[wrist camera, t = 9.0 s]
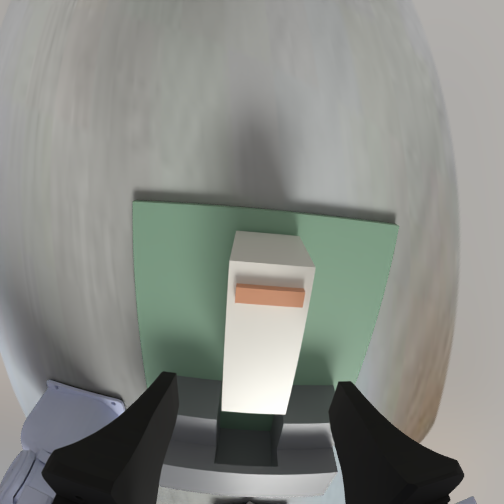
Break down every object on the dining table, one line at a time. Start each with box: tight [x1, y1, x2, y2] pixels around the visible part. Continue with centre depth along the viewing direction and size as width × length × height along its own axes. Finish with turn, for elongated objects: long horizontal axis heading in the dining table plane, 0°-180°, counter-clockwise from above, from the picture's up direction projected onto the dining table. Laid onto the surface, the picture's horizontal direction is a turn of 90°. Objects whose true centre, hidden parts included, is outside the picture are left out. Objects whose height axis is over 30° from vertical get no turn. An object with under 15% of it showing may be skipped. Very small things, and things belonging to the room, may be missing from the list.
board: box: [133, 200, 399, 431], centre depth 23 cm, size 18×22×1 cm
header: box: [159, 375, 338, 497], centre depth 22 cm, size 14×8×8 cm, turn 85°
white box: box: [222, 231, 316, 414], centre depth 18 cm, size 4×10×6 cm, turn 175°
